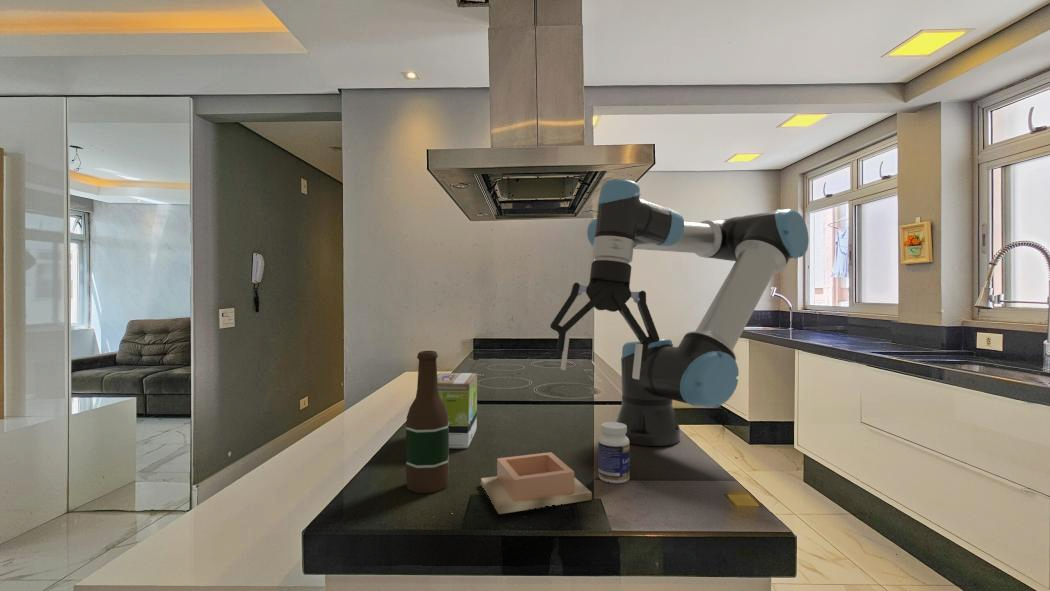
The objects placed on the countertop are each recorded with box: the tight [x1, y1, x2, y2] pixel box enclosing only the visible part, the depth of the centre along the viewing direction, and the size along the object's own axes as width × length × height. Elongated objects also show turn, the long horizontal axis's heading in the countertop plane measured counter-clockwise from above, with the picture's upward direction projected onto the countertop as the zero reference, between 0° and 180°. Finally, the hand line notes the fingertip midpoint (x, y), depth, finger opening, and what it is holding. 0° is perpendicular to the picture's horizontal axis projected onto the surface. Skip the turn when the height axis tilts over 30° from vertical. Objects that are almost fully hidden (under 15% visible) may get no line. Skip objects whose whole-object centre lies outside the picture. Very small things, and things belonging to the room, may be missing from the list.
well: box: [496, 452, 575, 502], centre depth 82 cm, size 10×10×4 cm
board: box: [480, 475, 593, 515], centre depth 82 cm, size 16×12×1 cm
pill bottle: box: [597, 421, 631, 484], centre depth 88 cm, size 6×6×10 cm
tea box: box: [437, 372, 478, 449], centre depth 113 cm, size 15×10×15 cm, turn 179°
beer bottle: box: [405, 350, 450, 494], centre depth 85 cm, size 8×8×24 cm
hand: (599, 374), depth 89 cm, fingers open, 13 cm apart
